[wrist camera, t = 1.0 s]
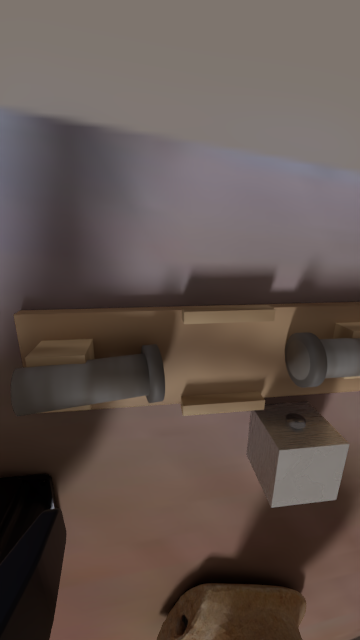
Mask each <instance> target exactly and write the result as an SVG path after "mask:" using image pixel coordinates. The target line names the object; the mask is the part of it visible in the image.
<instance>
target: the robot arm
mask: <svg viewBox="0 0 360 640" xmlns="http://www.w3.org/2000/svg"><path fill="white" fill-rule="evenodd" d="M44 481H45V482H44ZM65 544H66V528H65V524H64V520H63V515H62V511H61V510H60V509H59V508H57V507H56V502H55V496H54V490H53V484H52V478H51V476H49V475H47V474H40V475H30V476H20V477H9V478H0V640H49V638H50V634H51V629H52V625H53V620H54V614H55V608H56V602H57V595H58V589H59V583H60V576H61V570H62V563H63V557H64V550H65Z"/></svg>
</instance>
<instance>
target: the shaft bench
mask: <svg viewBox="0 0 360 640" xmlns="http://www.w3.org/2000/svg"><path fill="white" fill-rule="evenodd" d="M14 320H15V326H16V331H17V337H18V342H19V348H20V353H21V359H22V364H23V368H16V369H15V370H14V372H13V375H12V380H11V402H12V407H13V411H14V413H15V415H16V416H23V415H29V414H37V413H51V412H65V411H80V410H94V409H108V408H123V407H137V406H151V405H166V404H180V403H181V409H182V413H183V416H187V415H201V414H214V413H227V412H240V411H254V410H264V407H265V399H264V398H266V397H280V396H294V395H309V394H323V393H337V392H352V391H360V302H331V303H292V304H253V305H213V306H174V307H135V308H96V309H56V310H20V311H19V312H17V313H15V314H14Z"/></svg>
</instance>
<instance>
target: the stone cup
mask: <svg viewBox="0 0 360 640" xmlns="http://www.w3.org/2000/svg"><path fill="white" fill-rule="evenodd" d="M305 611H306V601H305V598H304V597H303V596H302V594H301V593H300V592H298V591H296V590H293V589H290V588H286V587H280V586H271V585H257V584H220V583H207V584H202V585H199V586H196V587H194V588H192V589H190V590H188V591H187V592H185V593H184V594H183V595H182V596H181V597H180V599H179V600H178V602H176V604H175V605H174V607H173V608H172V609H171V611H170V612H169V614H168V616H167V618H166V620H165V622H164V623H163V625H162V627H161V630H160V632H159V635H158V637H157V640H302V638H301V635H300V632H299V629H298V627H299V625H300V623H301V622H302V619H303V617H304V614H305Z"/></svg>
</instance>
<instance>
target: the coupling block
mask: <svg viewBox="0 0 360 640" xmlns="http://www.w3.org/2000/svg"><path fill="white" fill-rule="evenodd" d="M348 448H349V443H348V442H347V441H346V440H345V439H344V438H343V437H342V436H341V435H340V434H339V433H338V432H337V431H336V429H335V428H334V427H333V426H332V425H331V424H330V423H329V422H328V421H327V420H326V419H325V418H324V417H323V416H322V415H321V414H320V413H319V412H318V411H317V410H316V409H315V408H314V407H313V406H312V405H311V404H310V403H309V402H294V403H280V404H266V405H265V407H264V410H254V411H251V414H250V424H249V434H248V444H247V454H246V455H247V457H248V459H249V461H250V463H251V466H252V468H253V470H254V472H255V474H256V476H257V478H258V481H259V483H260V485H261V487H262V489H263V491H264V493H265V496H266V498H267V500H268V502H269V504H270V506H271V508H273V507H281V506H290V505H298V504H306V503H314V502H323V501H331V500H336V499H337V495H338V491H339V486H340V482H341V478H342V474H343V469H344V465H345V461H346V457H347V452H348Z"/></svg>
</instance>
